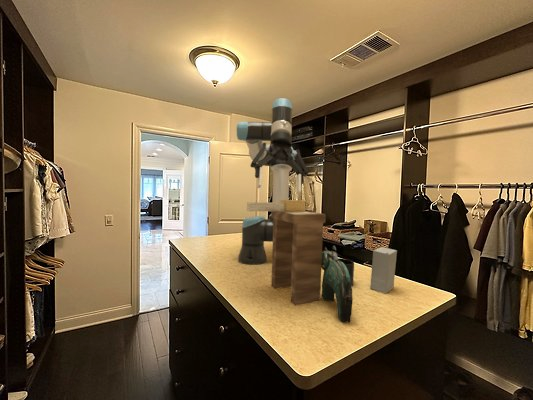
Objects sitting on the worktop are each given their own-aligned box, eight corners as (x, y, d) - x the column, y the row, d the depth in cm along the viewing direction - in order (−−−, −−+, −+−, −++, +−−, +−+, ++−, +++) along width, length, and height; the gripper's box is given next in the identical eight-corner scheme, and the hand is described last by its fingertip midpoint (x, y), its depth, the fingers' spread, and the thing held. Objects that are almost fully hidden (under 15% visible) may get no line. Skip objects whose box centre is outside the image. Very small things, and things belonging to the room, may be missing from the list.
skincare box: (377, 284, 105) (379, 246, 105) (396, 289, 100) (398, 249, 100) (369, 289, 99) (370, 249, 99) (388, 294, 94) (390, 252, 94)
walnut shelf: (269, 286, 99) (271, 209, 98) (295, 282, 104) (297, 209, 103) (292, 306, 83) (295, 214, 82) (322, 300, 88) (325, 213, 87)
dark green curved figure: (317, 295, 92) (319, 240, 91) (334, 295, 93) (337, 241, 92) (336, 324, 72) (339, 254, 72) (358, 323, 73) (361, 255, 72)
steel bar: (245, 210, 92) (246, 199, 92) (297, 210, 101) (298, 200, 101) (250, 211, 87) (251, 200, 87) (304, 211, 97) (305, 200, 96)
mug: (320, 282, 105) (321, 261, 105) (338, 277, 112) (339, 257, 112) (340, 290, 97) (341, 267, 97) (357, 283, 105) (358, 262, 104)
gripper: (249, 122, 86) (244, 178, 78) (317, 137, 91) (318, 191, 83) (245, 135, 92) (240, 188, 84) (308, 148, 98) (309, 199, 90)
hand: (279, 189), depth 84 cm, fingers open, 13 cm apart
